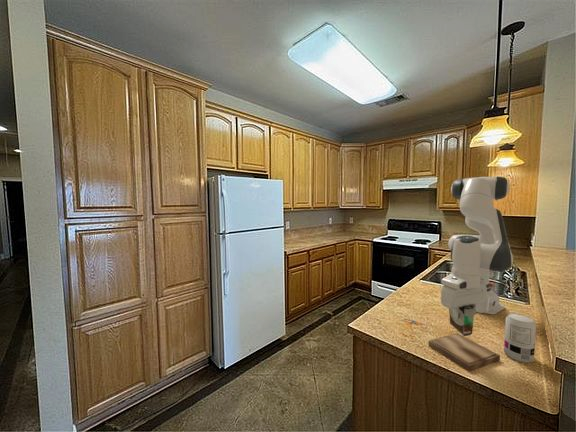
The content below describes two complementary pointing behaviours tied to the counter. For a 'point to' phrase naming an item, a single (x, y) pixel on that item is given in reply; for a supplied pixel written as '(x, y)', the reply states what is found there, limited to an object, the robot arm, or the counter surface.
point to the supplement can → (520, 337)
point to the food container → (463, 319)
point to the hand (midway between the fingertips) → (463, 315)
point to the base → (464, 351)
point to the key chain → (415, 323)
